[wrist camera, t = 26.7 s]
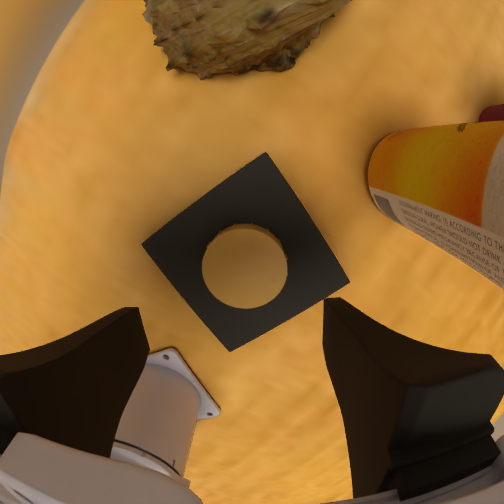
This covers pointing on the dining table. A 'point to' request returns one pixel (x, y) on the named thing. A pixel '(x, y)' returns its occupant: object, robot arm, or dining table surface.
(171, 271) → the coaster
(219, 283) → the lid
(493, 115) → the cup
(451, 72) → the dining table surface
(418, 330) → the dining table surface
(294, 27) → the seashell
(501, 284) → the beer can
